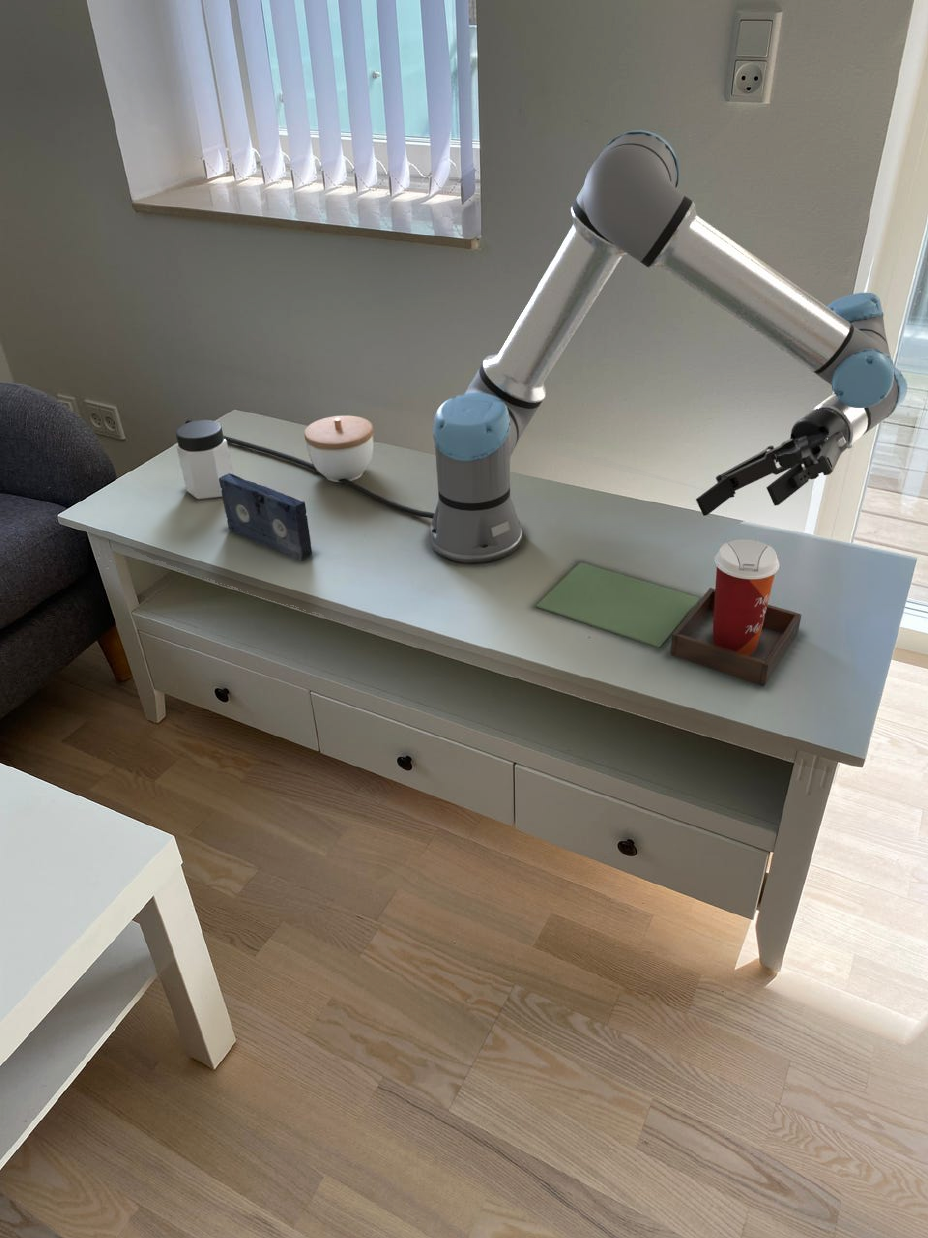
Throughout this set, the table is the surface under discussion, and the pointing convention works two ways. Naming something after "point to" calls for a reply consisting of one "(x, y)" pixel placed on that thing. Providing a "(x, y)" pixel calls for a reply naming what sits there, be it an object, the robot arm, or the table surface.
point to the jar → (203, 457)
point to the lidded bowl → (340, 446)
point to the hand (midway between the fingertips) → (735, 502)
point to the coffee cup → (742, 593)
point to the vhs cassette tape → (266, 516)
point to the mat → (619, 604)
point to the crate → (727, 658)
